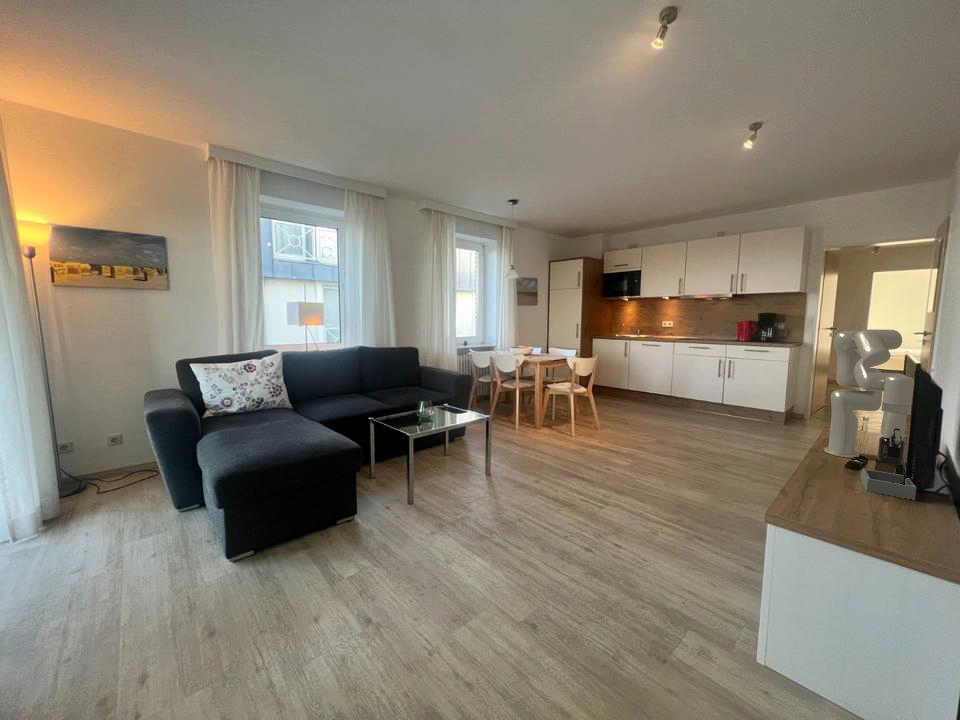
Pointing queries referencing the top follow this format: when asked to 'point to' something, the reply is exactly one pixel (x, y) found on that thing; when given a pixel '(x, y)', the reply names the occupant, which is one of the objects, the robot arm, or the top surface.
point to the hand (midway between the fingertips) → (890, 453)
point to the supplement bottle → (883, 452)
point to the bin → (888, 484)
